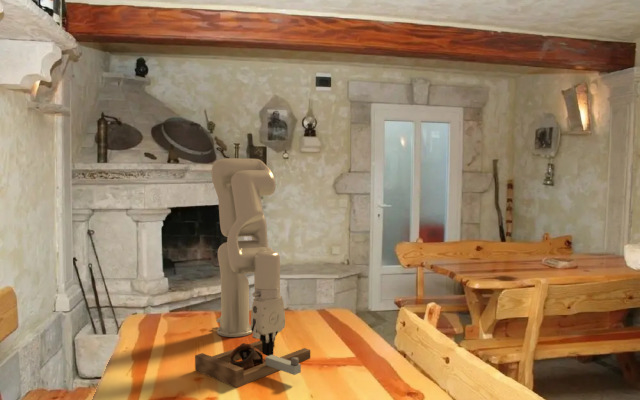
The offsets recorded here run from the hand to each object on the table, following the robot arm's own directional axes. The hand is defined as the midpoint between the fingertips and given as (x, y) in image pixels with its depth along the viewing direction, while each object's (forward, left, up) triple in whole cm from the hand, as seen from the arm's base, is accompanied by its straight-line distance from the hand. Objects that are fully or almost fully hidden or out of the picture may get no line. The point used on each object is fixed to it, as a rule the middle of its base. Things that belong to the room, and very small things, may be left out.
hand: (267, 354), depth 157 cm
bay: (0, -5, -2) cm, 5 cm away
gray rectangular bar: (+14, -8, +1) cm, 16 cm away
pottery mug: (+1, -9, -2) cm, 9 cm away
